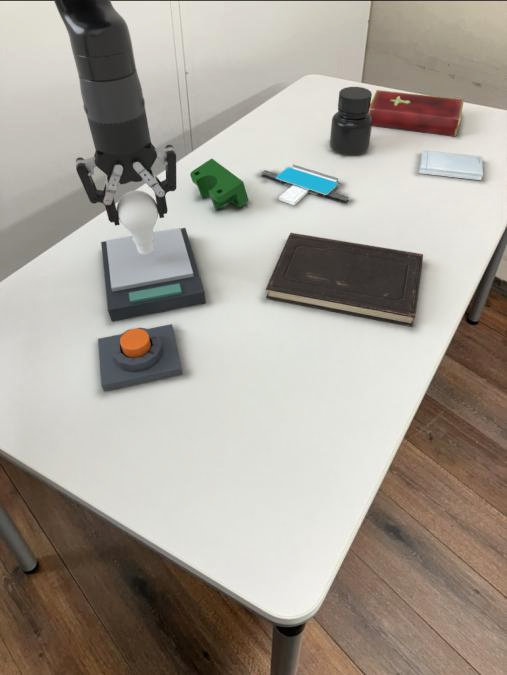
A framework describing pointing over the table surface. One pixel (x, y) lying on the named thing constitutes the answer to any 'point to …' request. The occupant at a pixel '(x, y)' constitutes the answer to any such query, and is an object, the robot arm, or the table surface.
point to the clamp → (219, 184)
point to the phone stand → (305, 184)
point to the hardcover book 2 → (416, 112)
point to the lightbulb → (139, 218)
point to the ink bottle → (352, 122)
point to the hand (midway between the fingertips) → (139, 218)
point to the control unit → (139, 360)
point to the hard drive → (451, 165)
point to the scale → (151, 275)
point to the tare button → (135, 343)
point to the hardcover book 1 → (347, 278)
